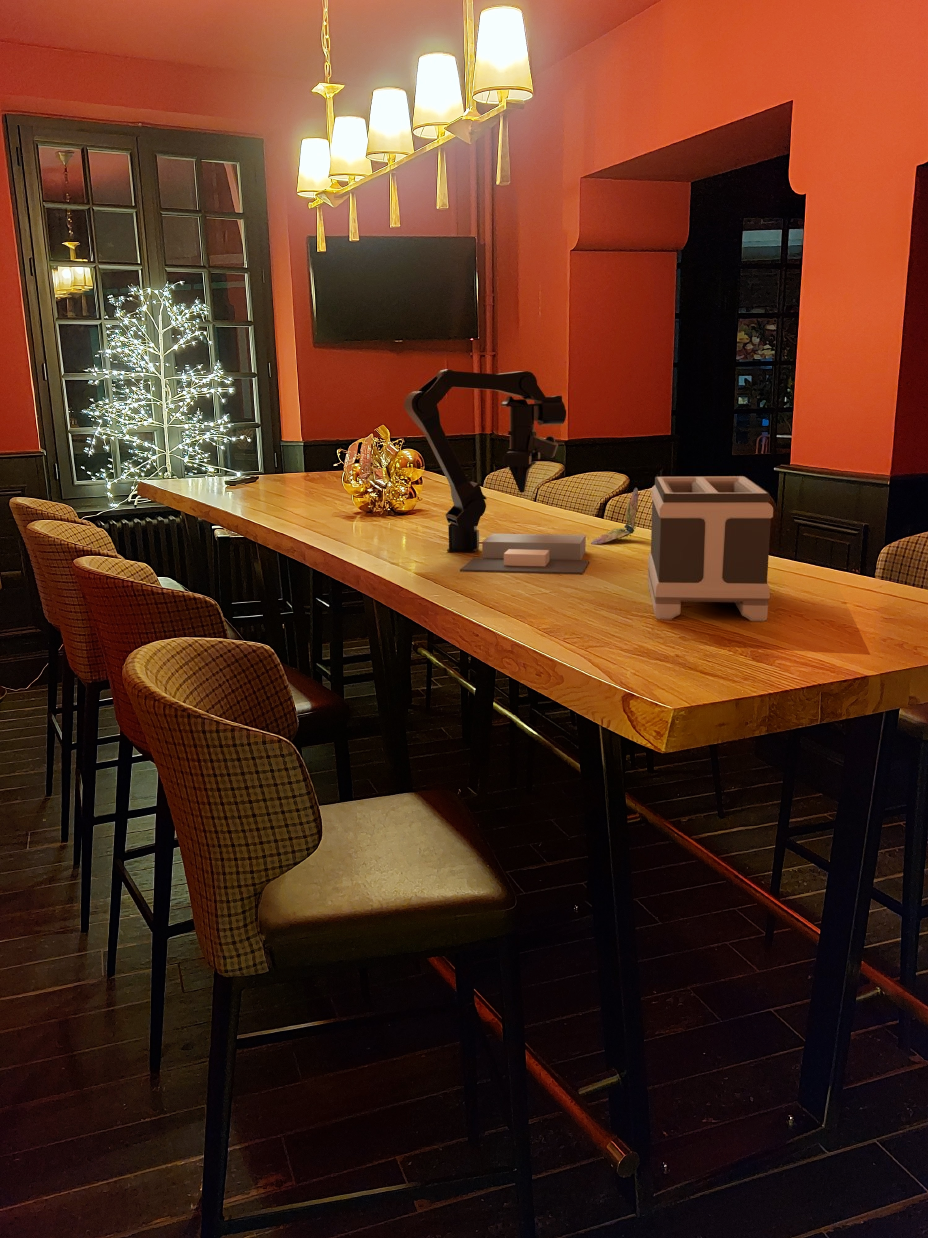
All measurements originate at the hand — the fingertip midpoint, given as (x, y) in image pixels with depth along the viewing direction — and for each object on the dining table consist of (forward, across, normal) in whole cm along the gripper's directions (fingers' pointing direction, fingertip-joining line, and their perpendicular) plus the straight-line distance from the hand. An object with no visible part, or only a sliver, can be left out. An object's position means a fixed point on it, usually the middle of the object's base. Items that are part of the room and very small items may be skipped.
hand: (522, 492), depth 229 cm
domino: (+10, -25, -5) cm, 28 cm away
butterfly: (+13, +9, -22) cm, 27 cm away
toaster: (+13, -53, -42) cm, 69 cm away
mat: (+13, -26, -5) cm, 30 cm away
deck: (+13, -13, -5) cm, 19 cm away
